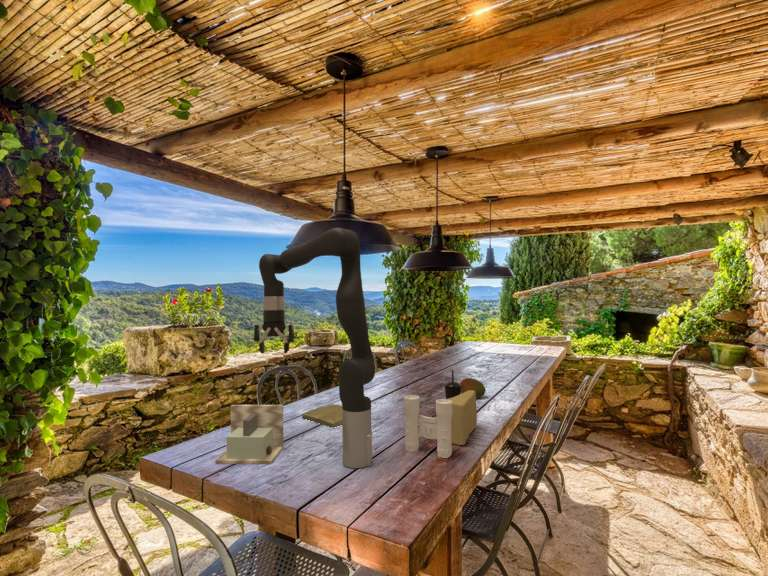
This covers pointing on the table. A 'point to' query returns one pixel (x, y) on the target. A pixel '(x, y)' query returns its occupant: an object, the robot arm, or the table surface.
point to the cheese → (463, 416)
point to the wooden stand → (265, 419)
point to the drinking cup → (452, 388)
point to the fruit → (473, 386)
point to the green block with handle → (249, 440)
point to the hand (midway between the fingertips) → (274, 353)
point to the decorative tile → (325, 415)
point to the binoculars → (428, 425)
